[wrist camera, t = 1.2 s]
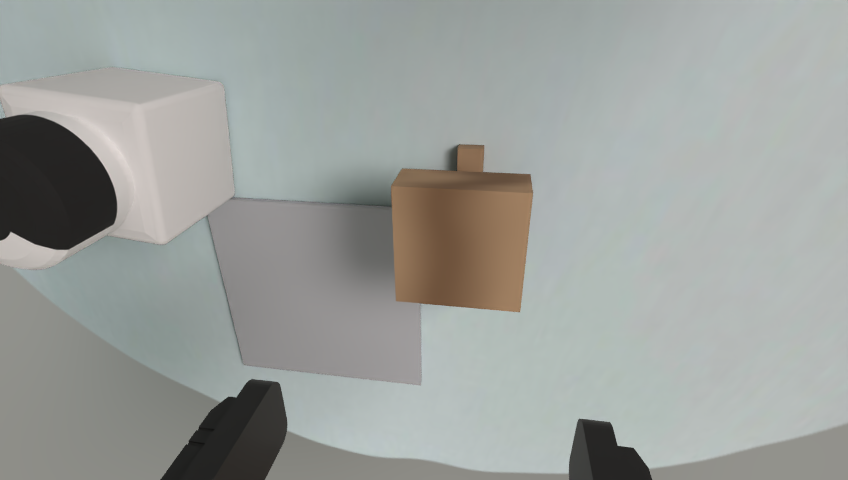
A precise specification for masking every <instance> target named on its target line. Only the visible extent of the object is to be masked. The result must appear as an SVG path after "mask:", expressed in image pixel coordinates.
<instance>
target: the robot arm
mask: <svg viewBox="0 0 848 480" xmlns="http://www.w3.org/2000/svg"><path fill="white" fill-rule="evenodd" d="M286 432H287V417H286V412H285V407H284V402H283V397H282V391H281V387H280V384H279V383H278V382H272V381H263V380H255V379H251V380H249V381H248V382H247V383H246V384H245V386H244V387H243V389H242V390H241V392H240V393H239V395H238V396H237V398H236V397H227V398H226V399H225V400H224V401H222V402H221V403H220V404H218V405H217V406H216V407H215V408H214V409H212V410H211V411H210V412H209V414H208V415H207V416H206V418H205V419H204V421H203V422H202V423H201V425H200V426H199V429H198V431H196V432H195V433H194V434H193V436H192V437H191V439H190V440H189V443H188V445H185V447H184V448H183V450H182V451H181V452H180V454H179V455H178V456H177V458H176V459H175V461H174V462H173V463H172V465H171V466H170V467H169V469H168V470H167V472H166V473H165V474H164V476H163V477H162V479H161V480H265V478H266V476H267V474H268V472H269V470H270V468H271V466H272V464H273V462H274V460H275V459H276V457H277V454H278V453H279V451H280V448H281V447H282V444H283V442H284V440H285V436H286ZM569 480H652V478H651V475H650V471H649V468H648V467H647V465H646V464H645V463H644V461H643V460H642V459H641V457H640V456H639V455H638V453H637V452H636V451H635V449H634V448H630V447H622V446H617V442H616V438H615V434H614V430H613V427H612V425H611V423H610V422H604V421H595V420H587V419H579V420H578V422H577V427H576V431H575V436H574V441H573V446H572V451H571V455H570V462H569Z"/></svg>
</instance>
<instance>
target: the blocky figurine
mask: <svg viewBox="0 0 848 480" xmlns="http://www.w3.org/2000/svg"><path fill="white" fill-rule="evenodd" d="M0 101H1V104H2V107H3V110H4V113H5V116H6V118H2V119H0V264H3V265H6V266H9V267H14V268H20V269H29V270H41V269H46V268H50V267H52V266H54V265H56V264H58V263H60V262H61V261H63V260H65V259H67V258H68V257H70V256H72V255H73V254H75V253H77V252H79V251H80V250H82V249H84V248H86V247H87V246H89V245H91V244H93V243H94V242H96V241H98V240H99V239H101V238H103V237H105V236H106V235H107V236H113V237H118V238H124V239H130V240H135V241H141V242H147V243H153V244H158V245H164V244H167V243H168V242H170V241H171V240H172V239H174V238H175V237H177V236H178V235H180V234H181V233H182V232H184V231H185V230H187V229H188V228H189V227H191V226H192V225H194V224H195V223H197V222H198V221H199V220H201V219H202V218H204V217H205V216H206V215H208V214H209V213H211V212H212V211H214V210H215V209H216V208H218V207H219V206H221V205H222V204H223V203H225V202H226V201H228V200H229V199H231V198H232V197H233V196H234V195H235V187H234V177H233V168H232V158H231V148H230V138H229V128H228V119H227V109H226V99H225V89H224V86H223V84H222V83H221V82H218V81H212V80H204V79H197V78H190V77H183V76H175V75H168V74H161V73H153V72H146V71H139V70H132V69H124V68H117V67H108V68H102V69H96V70H89V71H83V72H77V73H71V74H65V75H58V76H52V77H46V78H40V79H33V80H27V81H21V82H15V83H8V84H3V85H1V86H0Z"/></svg>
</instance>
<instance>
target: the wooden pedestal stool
mask: <svg viewBox="0 0 848 480" xmlns="http://www.w3.org/2000/svg"><path fill="white" fill-rule="evenodd" d="M483 161H484V145H461V144H459V146H458V157H457V171H445V170H423V169H402V170H401V171H400V173H399V174H398V176H397V177H396V179H395V181H394V182H393V184H392V185H391V198H392V222H393V246H394V270H395V293H396V301H399V302H410V303H422V304H433V305H444V306H456V307H467V308H478V309H490V310H501V311H512V312H520V308H521V299H522V289H523V280H524V271H525V262H526V253H527V244H528V234H529V225H530V216H531V207H532V198H533V190H532V183H531V175H530V174H511V173H489V172H483Z"/></svg>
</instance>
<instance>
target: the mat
mask: <svg viewBox="0 0 848 480" xmlns="http://www.w3.org/2000/svg"><path fill="white" fill-rule="evenodd" d="M207 216H208V220H209V224H210V229H211V233H212V237H213V241H214V245H215V249H216V253H217V257H218V261H219V265H220V269H221V274H222V278H223V282H224V286H225V290H226V294H227V298H228V302H229V306H230V310H231V315H232V319H233V323H234V327H235V331H236V335H237V339H238V343H239V347H240V351H241V356H242V360H243V364H244V365H247V366H256V367H265V368H274V369H282V370H291V371H300V372H309V373H317V374H326V375H335V376H344V377H352V378H361V379H370V380H379V381H387V382H396V383H405V384H414V385H421V308H420V303H410V302H399V301H396V293H395V270H394V246H393V222H392V207H389V206H371V205H354V204H337V203H319V202H302V201H285V200H267V199H250V198H231V199H229V200H228V201H226V202H225V203H223V204H222V205H221V206H219V207H218V208H216V209H215V210H214V211H212V212H211V213H209V214H208V215H207Z"/></svg>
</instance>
